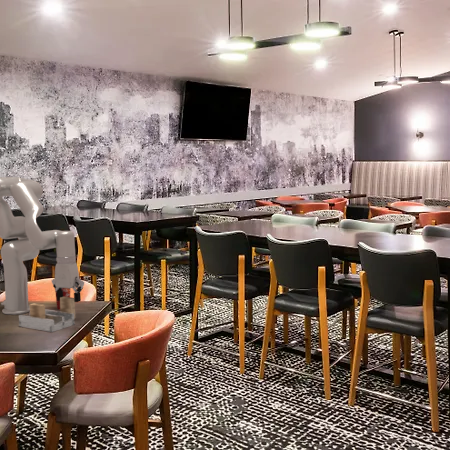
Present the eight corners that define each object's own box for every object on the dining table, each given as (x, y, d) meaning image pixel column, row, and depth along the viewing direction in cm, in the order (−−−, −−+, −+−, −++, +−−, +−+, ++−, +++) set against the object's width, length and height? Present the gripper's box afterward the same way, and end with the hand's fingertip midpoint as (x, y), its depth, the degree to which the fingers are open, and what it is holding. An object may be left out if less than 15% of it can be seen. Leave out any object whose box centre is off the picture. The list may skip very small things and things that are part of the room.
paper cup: (67, 310, 267) (66, 279, 265) (51, 309, 268) (50, 279, 267) (75, 306, 275) (74, 276, 273) (59, 305, 276) (58, 275, 275)
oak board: (30, 326, 241) (29, 304, 241) (35, 324, 244) (34, 303, 243) (41, 328, 239) (40, 306, 238) (45, 326, 241) (44, 304, 240)
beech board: (60, 318, 253) (59, 297, 252) (64, 317, 255) (63, 296, 255) (71, 320, 250) (70, 299, 250) (75, 318, 253) (74, 298, 252)
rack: (19, 326, 241) (18, 315, 241) (42, 319, 252) (41, 308, 252) (52, 332, 233) (51, 320, 232) (74, 324, 244) (74, 313, 243)
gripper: (44, 261, 251) (47, 301, 253) (75, 262, 243) (78, 304, 244) (57, 258, 258) (60, 297, 259) (88, 260, 249) (90, 300, 251)
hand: (68, 300), depth 252 cm, fingers open, 9 cm apart
